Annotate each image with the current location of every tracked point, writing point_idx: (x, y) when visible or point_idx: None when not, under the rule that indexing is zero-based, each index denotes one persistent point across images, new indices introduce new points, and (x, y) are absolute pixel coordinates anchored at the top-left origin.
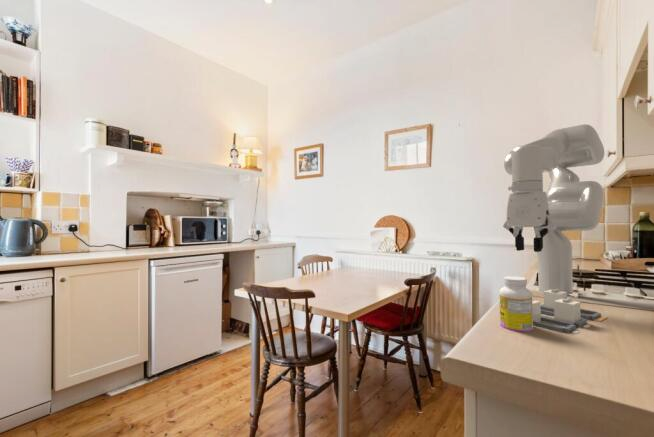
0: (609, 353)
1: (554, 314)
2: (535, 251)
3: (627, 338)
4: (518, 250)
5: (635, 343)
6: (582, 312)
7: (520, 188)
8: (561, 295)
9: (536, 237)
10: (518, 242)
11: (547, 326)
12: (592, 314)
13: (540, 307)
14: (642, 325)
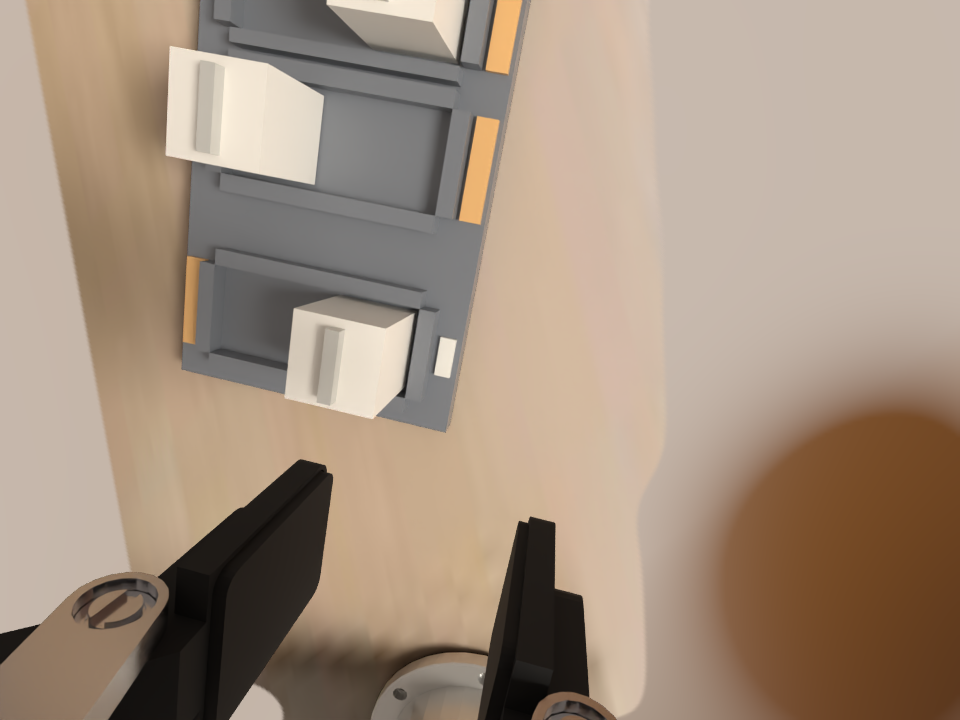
0: None
1: (305, 85)
2: (315, 465)
3: (106, 149)
4: (530, 519)
5: (75, 98)
6: (271, 362)
7: None
8: (296, 318)
9: (185, 619)
10: (518, 590)
11: None
12: (234, 353)
13: (342, 19)
14: (112, 391)
